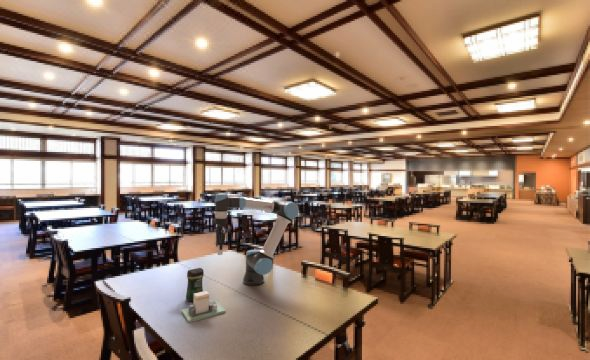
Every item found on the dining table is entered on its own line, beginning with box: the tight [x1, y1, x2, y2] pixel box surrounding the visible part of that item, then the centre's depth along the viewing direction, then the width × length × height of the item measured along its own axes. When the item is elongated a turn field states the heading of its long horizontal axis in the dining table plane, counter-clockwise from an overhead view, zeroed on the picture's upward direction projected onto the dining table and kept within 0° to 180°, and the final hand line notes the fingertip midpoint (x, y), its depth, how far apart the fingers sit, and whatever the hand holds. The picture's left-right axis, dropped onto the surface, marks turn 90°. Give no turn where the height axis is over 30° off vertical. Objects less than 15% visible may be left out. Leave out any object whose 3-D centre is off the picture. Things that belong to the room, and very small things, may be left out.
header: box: [188, 301, 213, 317], centre depth 150 cm, size 11×7×4 cm, turn 127°
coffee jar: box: [185, 267, 205, 302], centre depth 169 cm, size 10×8×19 cm
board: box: [181, 300, 227, 324], centre depth 152 cm, size 20×14×4 cm
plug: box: [192, 290, 210, 314], centre depth 150 cm, size 7×5×10 cm, turn 127°
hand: (220, 254), depth 174 cm, fingers closed
